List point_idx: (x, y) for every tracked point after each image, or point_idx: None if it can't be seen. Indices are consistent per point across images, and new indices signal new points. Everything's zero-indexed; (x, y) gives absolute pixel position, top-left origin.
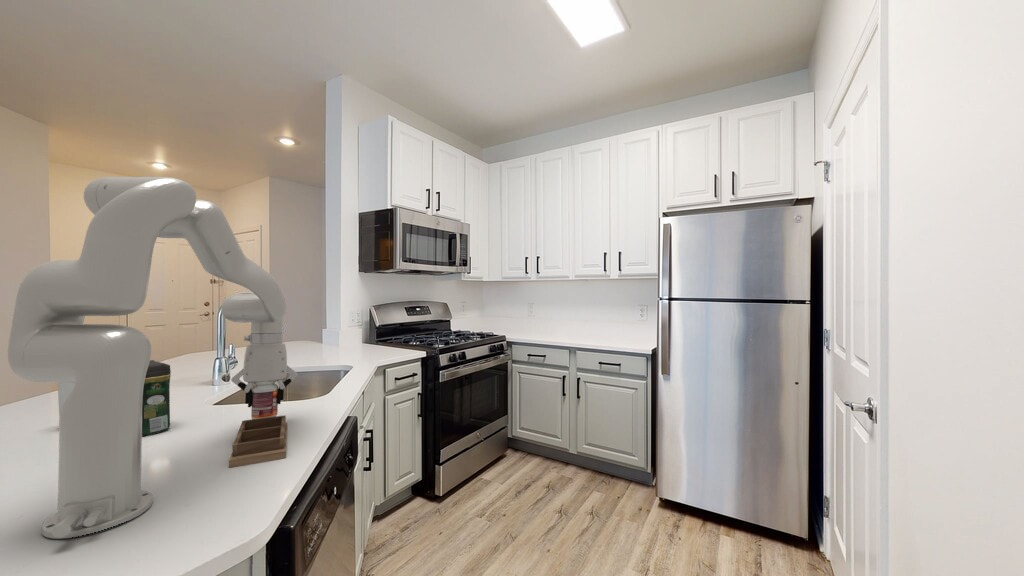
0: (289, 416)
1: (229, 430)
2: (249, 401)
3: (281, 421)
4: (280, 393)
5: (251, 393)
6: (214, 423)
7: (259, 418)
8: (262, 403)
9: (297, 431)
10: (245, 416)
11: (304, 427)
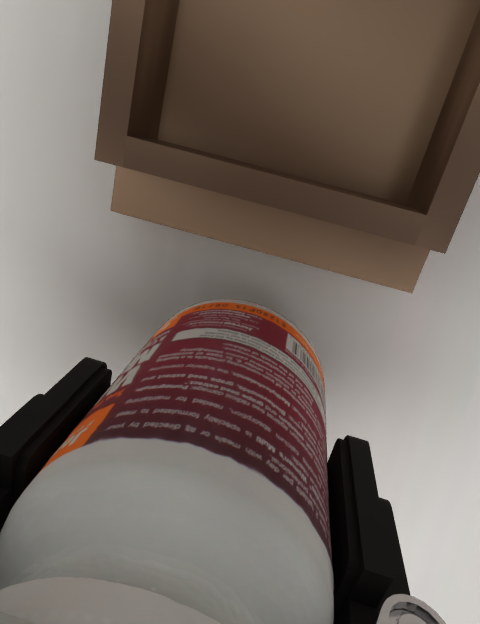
0: None
1: (432, 417)
2: (362, 474)
3: (147, 138)
4: (21, 416)
5: (350, 555)
6: (454, 597)
7: (283, 317)
8: (248, 368)
9: (77, 65)
10: None
11: (26, 133)
